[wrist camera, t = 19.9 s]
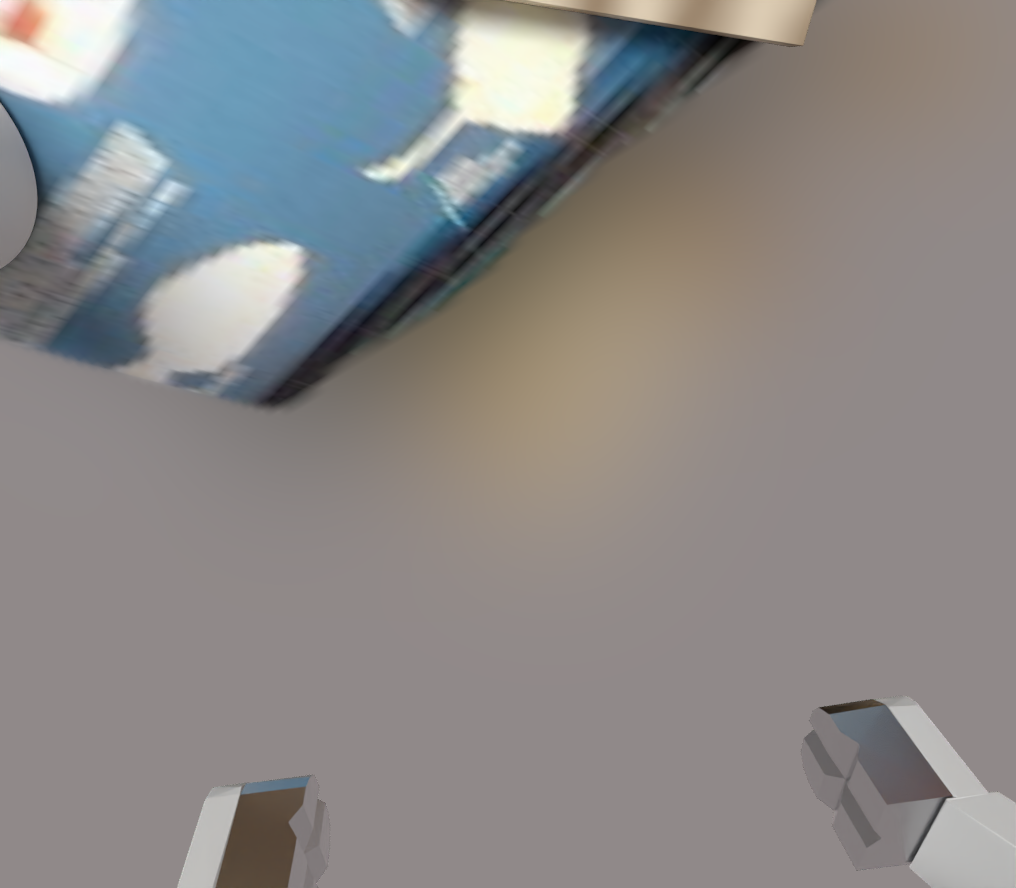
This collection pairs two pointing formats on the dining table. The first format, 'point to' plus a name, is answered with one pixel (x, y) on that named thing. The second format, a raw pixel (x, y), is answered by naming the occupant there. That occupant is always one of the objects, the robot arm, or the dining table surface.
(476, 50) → the dining table surface
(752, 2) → the birch board
